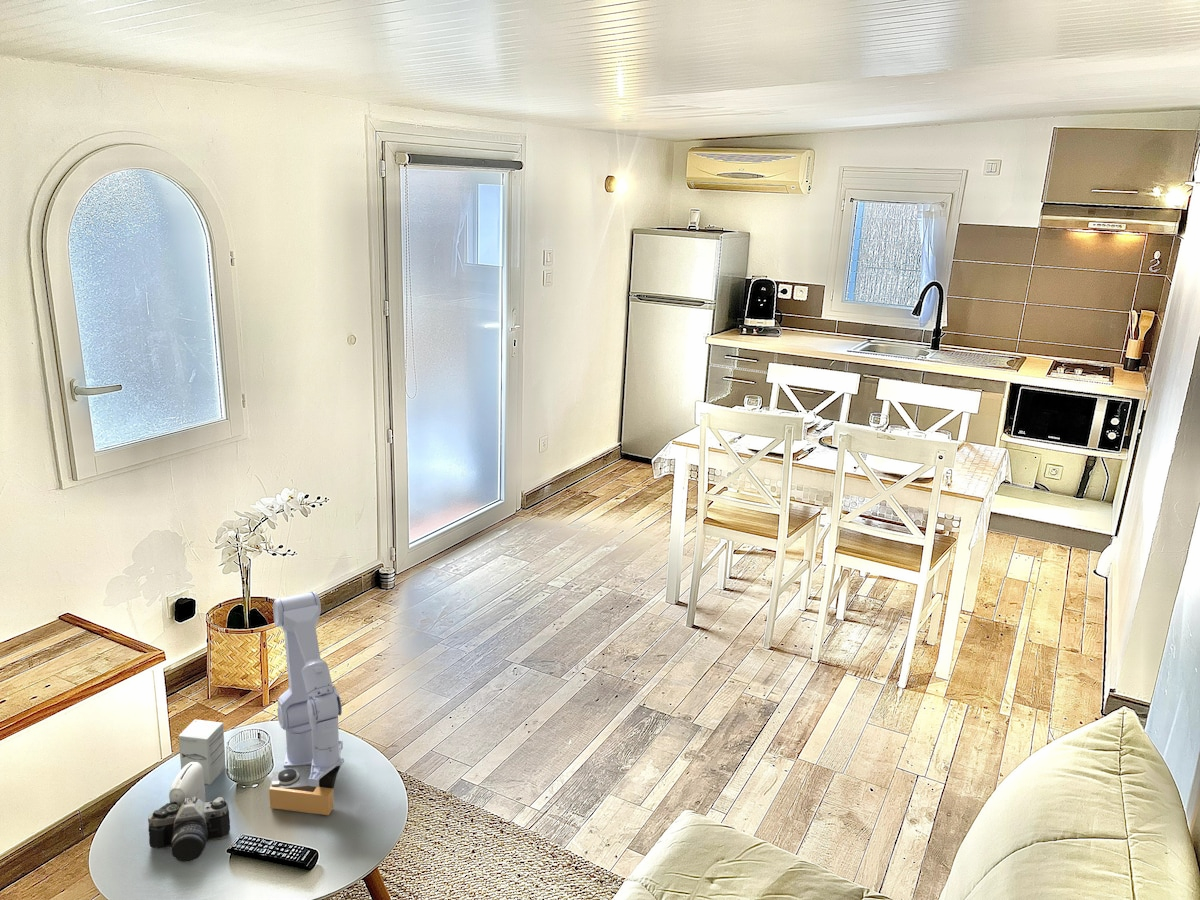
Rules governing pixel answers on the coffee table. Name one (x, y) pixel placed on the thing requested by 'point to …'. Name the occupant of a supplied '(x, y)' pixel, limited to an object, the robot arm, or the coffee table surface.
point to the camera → (188, 826)
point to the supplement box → (204, 747)
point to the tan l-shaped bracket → (302, 800)
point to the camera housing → (292, 780)
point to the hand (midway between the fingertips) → (327, 793)
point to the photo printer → (188, 784)
